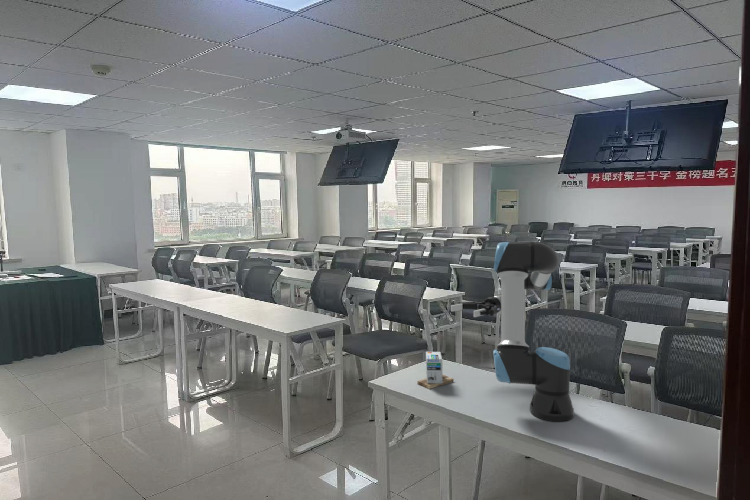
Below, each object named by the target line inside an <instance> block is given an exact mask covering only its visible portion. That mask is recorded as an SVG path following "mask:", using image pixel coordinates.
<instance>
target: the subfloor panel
mask: <svg viewBox="0 0 750 500" xmlns="http://www.w3.org/2000/svg"><path fill="white" fill-rule="evenodd" d="M453 381H454V378H453V377H450V376H447V375H445V374H443V373H442V384H439V383H427V377H426V378H423V379H419V380H417V385H420V386H422V387H424V388H427V390H430V389H434V388H438V387H440V386H443V385H447V384H450V383H454V382H455V381H454V382H453Z"/></svg>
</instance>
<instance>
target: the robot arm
mask: <svg viewBox="0 0 750 500" xmlns="http://www.w3.org/2000/svg"><path fill="white" fill-rule="evenodd" d="M559 262H560V259H559V256H558V254H557V252H556V251H555V249H553V248H552V247H551V246H550V245H548V244H545V243H543V242H538V241H533V242H532V241H531V242H530V241H503V242H502V241H501V242H498V243H497V245H496V249H495V256H494V263H493V264H494V265H493V271H494V272H497V275H496V276H497V277H498V278H499V279H500V281H501V285H500V287H501V289H500V293H501V295H495V296H490V297H489V296H488V297H487V298H485V300H484V301H478V300H476V301H461V302H460V301H458V303H457V304H451V305H450V312H457V311H463V310H473V318H478V317H483V316H489V315H490V316H491V317H492V316H494V315H496V314H500V317H501V318H500V319H501V321H500V324H501V327H500V328H501V330H500V335H501V336H500V337H501V338H500V339H501V341H500V342H499V343H497V345H496V349H494V350H493V351H492V354H493V362H494V363H493V364H494V371H495V377H496V380H497V381H498V382H500V383H506V384H517V385H518V384H519V385H520V384H521V385H532V386H534V385H535V386H534V387H535V390H534V394H533V395H532V398H531V400H530V403H529V412H530V413H531V415H532V416H534V417H536V418H538V419H542V420H544V421H549V422H567V421H570V420H572V419H573V418H574V416H575V415H574V414H575V411H574V409H575V408H574V406H573V403H572V400H571V396H570V375H571V374H570V371H571V365H570V364H571V363H570V361H571V360H570V357H569V355H568V354H567V353H565V352H564V351H561V350H559V349H557V348H554V347H546V346H543V347H542V346H541V347H537V348H536V349H535V351H530V345H528V344H527V342H526V335H525V334H526V331H525V330H526V327H525V325H526V323H525V322H526V321H525V290H533V291H548V290H551V289H552V283H553V281H552V273H554V272H555V271H556V270H557V269H558V266H559ZM530 272H531V273H530Z"/></svg>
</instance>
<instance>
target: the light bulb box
mask: <svg viewBox="0 0 750 500" xmlns="http://www.w3.org/2000/svg"><path fill="white" fill-rule="evenodd" d="M425 371H426V372H425V375H426V376H425V377H426V378H427V383H439V384H442V374H443V356H442V352H441V351H425Z"/></svg>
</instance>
